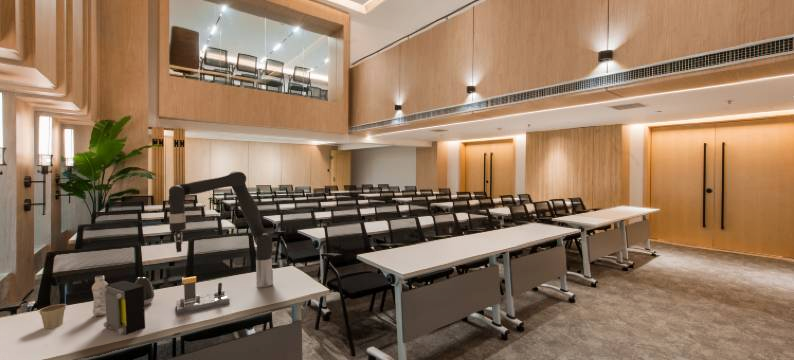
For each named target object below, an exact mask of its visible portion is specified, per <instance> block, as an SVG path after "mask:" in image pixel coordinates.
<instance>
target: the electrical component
mask: <svg viewBox="0 0 794 360" xmlns="http://www.w3.org/2000/svg"><path fill="white" fill-rule="evenodd" d="M102 292H103V293H106V294H105V298H106V314H105V316H106V317H105V318H106V322H103V327H104V328H109V329H111V330H114V331H115V332H117V333H118V334H119V335H125V336H128V335H130V334H132V333H135V332H138V331H140V330H143V329H146V319H145V318H146V316H145V315H146V314H145V312H146V311H145V306H144V286H142V285H138V284H135V282H130V281H128V280H121V281H116V282H113V283H108V285H106V286H105V289H103V290H102Z"/></svg>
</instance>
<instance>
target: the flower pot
mask: <svg viewBox="0 0 794 360" xmlns="http://www.w3.org/2000/svg"><path fill="white" fill-rule="evenodd" d="M66 308H67V304H66V303H61V304H59V303H58V304H54V305H53V304H52V305H49V306H46V307H43V308H40V309H39V310H38V313H39V314H40V316H41V321H42V325H43V328H44V329H47V328H48V329H53V327H54V328H56V327H59V325H60V326H62V325H63V324H64V315H65V310H66ZM61 324H62V325H61Z"/></svg>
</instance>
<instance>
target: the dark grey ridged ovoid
mask: <svg viewBox="0 0 794 360" xmlns="http://www.w3.org/2000/svg"><path fill="white" fill-rule="evenodd" d="M134 283H135V284H138V285H142V286H144V307H145V306H147V305H149V304H151V302H152V301H154V297H155V290H154V287H153V285H152V282H151V281H150V280H149V278H148V277H146V276H141V277H140V276H137V277H136V281H135V282H134Z"/></svg>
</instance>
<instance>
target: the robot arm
mask: <svg viewBox="0 0 794 360" xmlns="http://www.w3.org/2000/svg"><path fill="white" fill-rule="evenodd" d="M246 182H247V176H246V174H245V173H244V172H242V171H239V170H233V171H231V172H230V173H229V174H227V175H223V176H220V177H215V178H208V179H200V180H196V181H191V182H189V183H187V182H186V183H180V184H175V185H172V186H170V188H169V189H168V196H169V216H168V219H169V231H171V232H174V233H173V237H174V243H175V249H176V253H180V252H182V245H183V242H182V241H183V232H182V231H184V230H186V229H187V222H186V221H187V219H186V209H185V196H190V195H196V194H197V195H198V194H202V193H206V192H211V191H213V190H218V189H223V188H230V187H231V188H232V190H233V192H234V194H235V196H236V199H237V202H238V205H239V208H240V210H241V213H242V215H243V217H244V220H245V222H246V223H247V225H248V227H249V228H250V230H251V234H252V238H253V241H254V244H255V245H256V255H255V266H256V267H255V271H256V272H255V273H256V274H255V276H256V287H257V288H262V287H263V288H267V287H271V286H273V285H274V270H273V266H272V265H273V264H272V263H273V262H272V258H273V257H272V255H273V239H272V237H271V235H269V233H267V232H266V229H265V227H264V226H263V222H262V218H261V213H260V210H259V207H258V205H257V203H256V201H255V200H254V197H253V196H252V194H251V193H250V192H249V190H248V187H247V185H246ZM270 285H271V286H270Z"/></svg>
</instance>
